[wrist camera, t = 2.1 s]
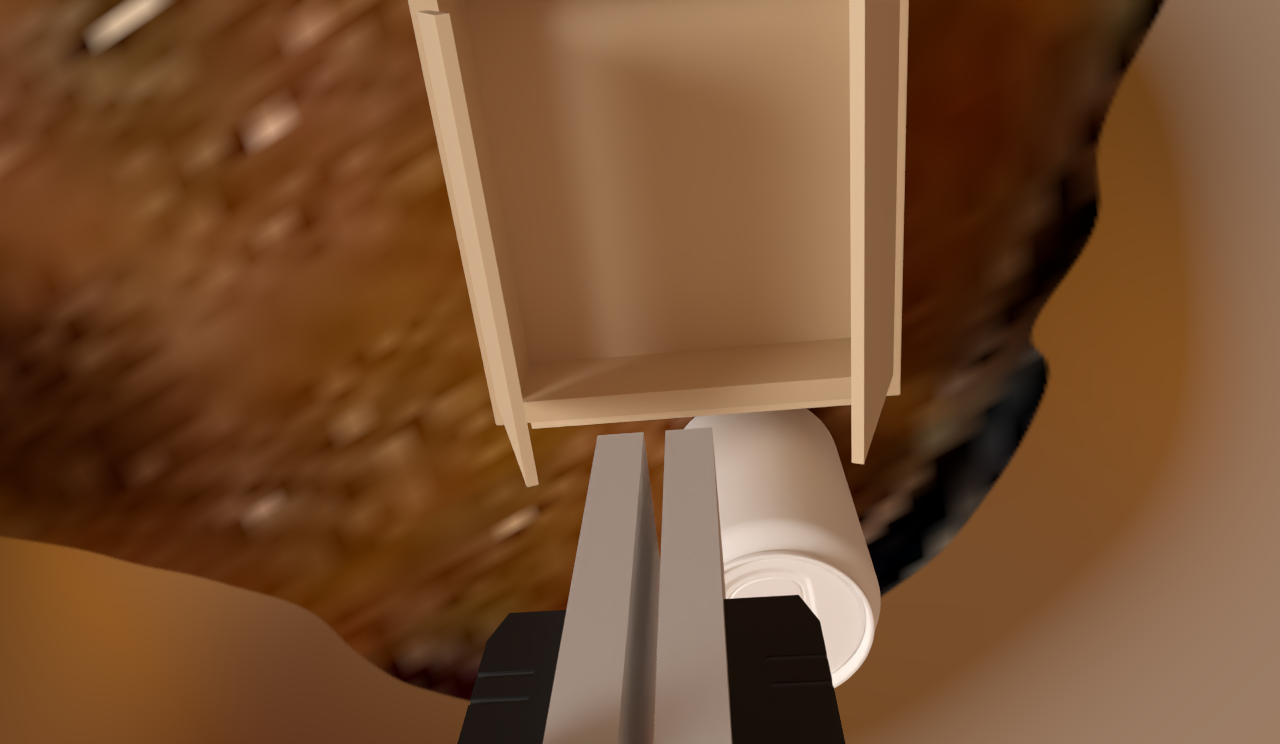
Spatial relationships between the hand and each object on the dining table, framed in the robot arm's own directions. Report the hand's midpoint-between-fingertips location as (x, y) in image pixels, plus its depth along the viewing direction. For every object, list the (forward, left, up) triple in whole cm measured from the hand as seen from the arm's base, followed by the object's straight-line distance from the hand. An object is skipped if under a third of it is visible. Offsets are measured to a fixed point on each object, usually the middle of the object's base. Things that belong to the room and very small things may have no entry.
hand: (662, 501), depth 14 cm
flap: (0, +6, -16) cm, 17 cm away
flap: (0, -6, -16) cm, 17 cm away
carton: (0, 0, -24) cm, 24 cm away
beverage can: (+14, +2, -25) cm, 29 cm away
